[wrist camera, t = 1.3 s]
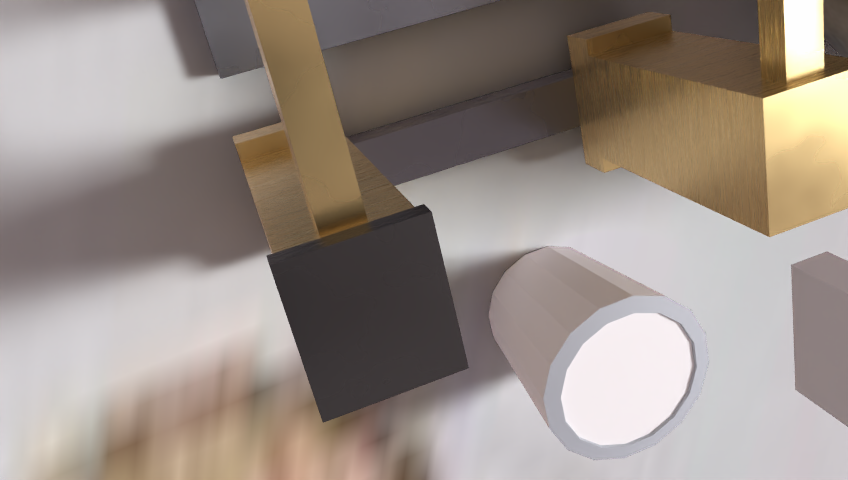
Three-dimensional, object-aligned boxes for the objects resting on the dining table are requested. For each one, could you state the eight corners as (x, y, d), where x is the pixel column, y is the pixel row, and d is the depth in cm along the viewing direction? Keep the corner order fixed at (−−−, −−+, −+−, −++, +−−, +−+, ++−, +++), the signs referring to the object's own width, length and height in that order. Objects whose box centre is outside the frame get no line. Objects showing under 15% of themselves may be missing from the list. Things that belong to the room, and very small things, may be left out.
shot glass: (473, 245, 33) (545, 314, 26) (618, 221, 34) (719, 281, 28) (476, 386, 35) (544, 480, 29) (612, 357, 37) (703, 440, 31)
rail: (291, 207, 30) (295, 217, 29) (275, 159, 29) (279, 166, 28) (636, 97, 33) (652, 103, 32) (630, 50, 32) (646, 54, 31)
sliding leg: (272, 270, 29) (328, 437, 19) (156, -74, 24) (148, -94, 14) (369, 238, 30) (472, 382, 20) (275, -103, 25) (347, -140, 15)
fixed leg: (585, 163, 32) (770, 256, 22) (537, -165, 27) (747, -231, 17) (661, 138, 32) (872, 217, 23) (627, -186, 27) (878, -262, 18)
